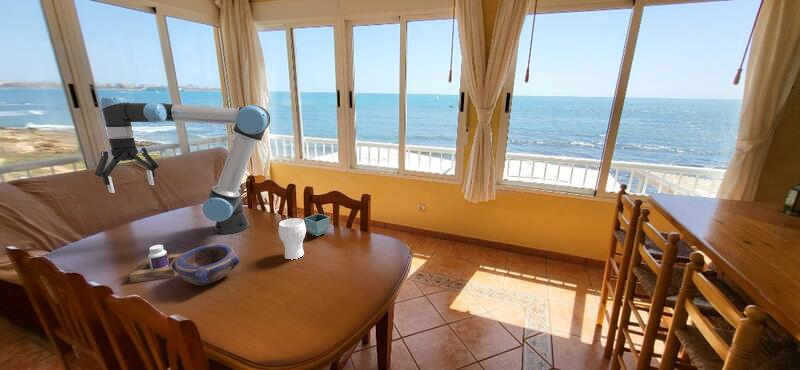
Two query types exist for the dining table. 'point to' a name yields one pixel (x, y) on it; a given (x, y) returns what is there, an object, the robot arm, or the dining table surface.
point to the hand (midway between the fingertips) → (132, 188)
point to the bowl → (206, 264)
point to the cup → (292, 237)
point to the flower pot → (317, 224)
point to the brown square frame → (153, 270)
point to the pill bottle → (158, 257)
